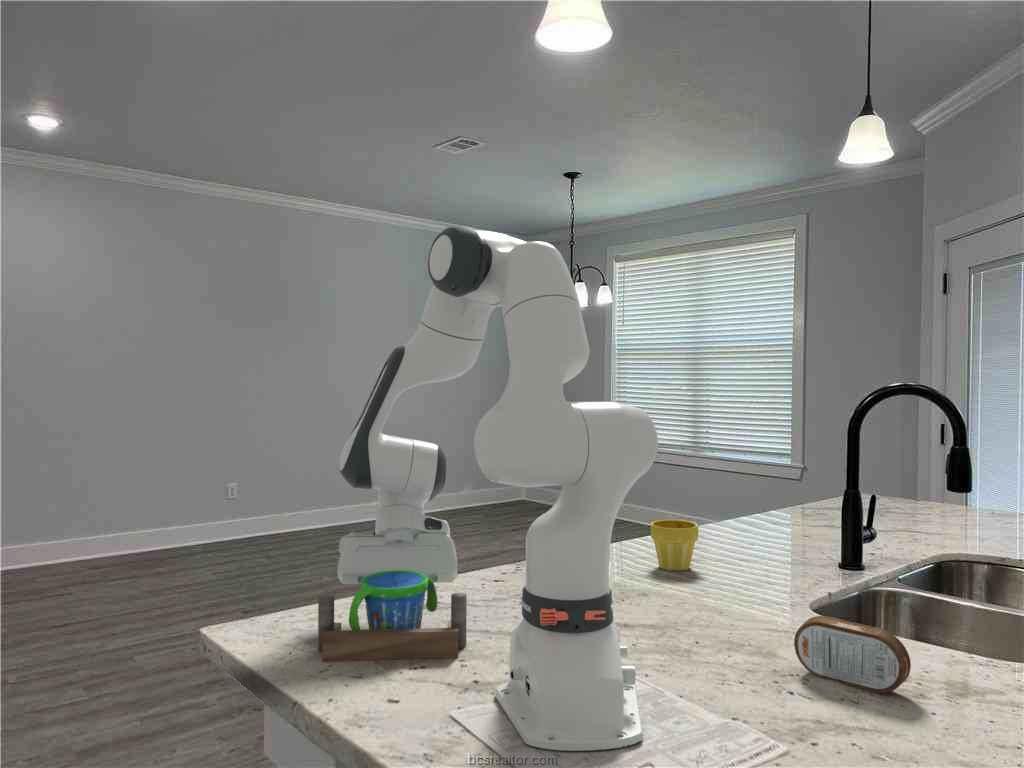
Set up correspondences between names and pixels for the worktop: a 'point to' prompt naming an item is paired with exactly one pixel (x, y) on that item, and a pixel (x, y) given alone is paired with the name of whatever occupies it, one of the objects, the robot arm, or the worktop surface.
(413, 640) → the cradle
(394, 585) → the snack cup
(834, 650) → the tin
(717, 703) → the worktop surface
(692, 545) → the plant pot
